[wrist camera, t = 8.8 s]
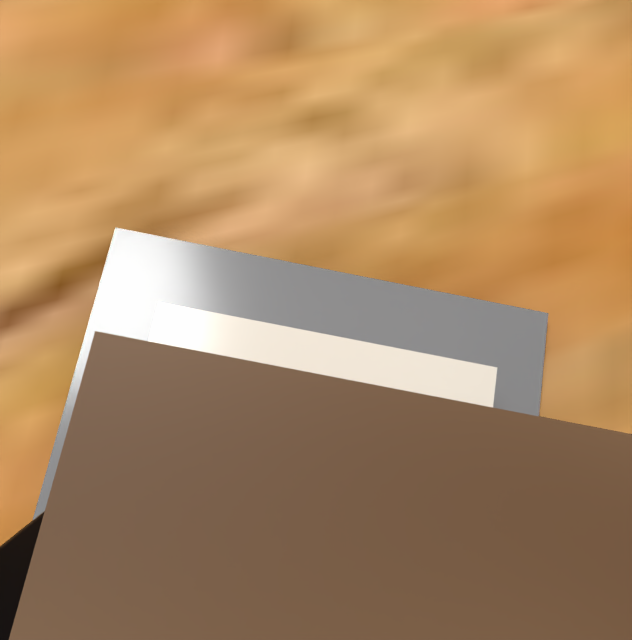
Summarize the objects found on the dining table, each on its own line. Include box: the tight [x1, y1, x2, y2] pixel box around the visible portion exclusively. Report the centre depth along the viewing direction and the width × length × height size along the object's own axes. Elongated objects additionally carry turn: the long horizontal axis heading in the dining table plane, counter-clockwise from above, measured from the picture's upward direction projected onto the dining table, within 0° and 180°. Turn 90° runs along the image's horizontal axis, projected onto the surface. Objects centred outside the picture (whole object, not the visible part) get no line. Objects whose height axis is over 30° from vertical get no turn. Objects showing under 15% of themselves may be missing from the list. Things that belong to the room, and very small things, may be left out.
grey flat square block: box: [33, 228, 548, 520], centre depth 14 cm, size 14×14×4 cm
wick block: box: [9, 331, 632, 640], centre depth 9 cm, size 4×4×12 cm
